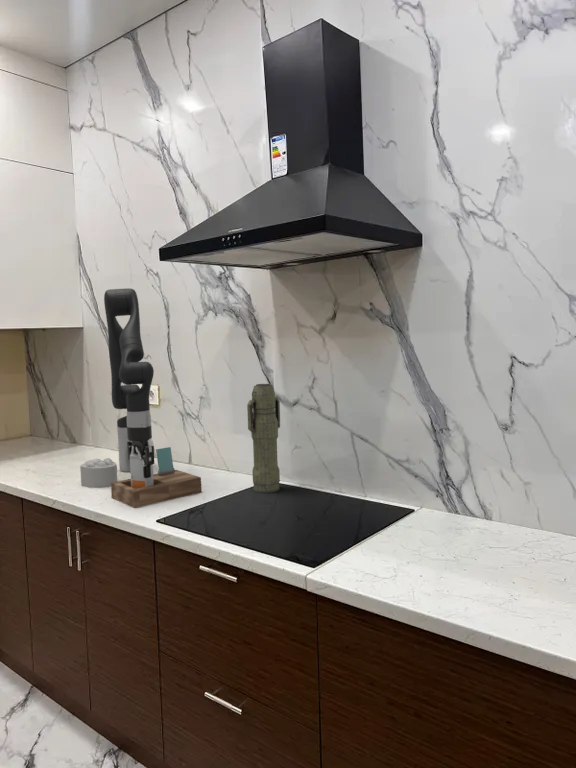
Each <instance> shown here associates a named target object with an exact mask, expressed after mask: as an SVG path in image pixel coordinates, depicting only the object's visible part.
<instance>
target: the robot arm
mask: <svg viewBox="0 0 576 768" xmlns="http://www.w3.org/2000/svg"><path fill="white" fill-rule="evenodd" d="M103 302H104V311H105V316H106V325H107V333H108V336H107V337H108V354H109V355H108V356H109V364H110V374H111V402H112V406H113V408H114V409H116V410H126V415H125V416H123V417H120V418H118V419H117V421H116V423H117V424H116V425H117V426H116V427H117V429H116V430H117V445H118V462H119V463H118V464H119V472H125V473H126V472H127V473H130V455H131V454H134V453H135V454H137V455H138V456H139V459H140V460H141V461H142V463H143V466H144V467H143V475H144V478H150V477H151V465H155V448H154V447H155V446H154V445H149V440H151V439H152V437H153V435H152V434H153V433H152V416H151V410H150V392H151V386H152V382H153V379H154V373H155V371H154V367H153V365H152V363H151V362H149V361H142V360H143V359H144V356H145V351H144V347H143V343H142V337H141V322H140V321H141V319H140V317H141V316H140V308H139V307H140V306H139V299H138V295H137V292H136V290H135V289H133V288H113V289H107V290H105V292H104V295H103ZM123 316H124V317H125V316H129V319H128V321H127V323H126V325H125V326H124V327H122V326H121V324H120V323H119V321H118V319H117V317H123ZM122 384H124V385H122ZM139 385H141V386H139ZM143 455H145V456H143ZM150 458H151V459H150Z"/></svg>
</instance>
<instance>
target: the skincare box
mask: <svg viewBox="0 0 576 768" xmlns="http://www.w3.org/2000/svg"><path fill="white" fill-rule="evenodd" d="M143 456H145V455H143ZM150 459H151V458H150ZM153 465H154V464H153ZM153 465H151V477H150V478H144V475H143V467H144V466H143V463H142V461H141V460H140V459H139V456H138V455H137V454H135V453H134V454H131V455H130V472H129V473H130V479H131V487H132V488H134V489H138V488H143V487H148V486H152V485H154V481H153V474H154V466H153Z"/></svg>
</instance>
